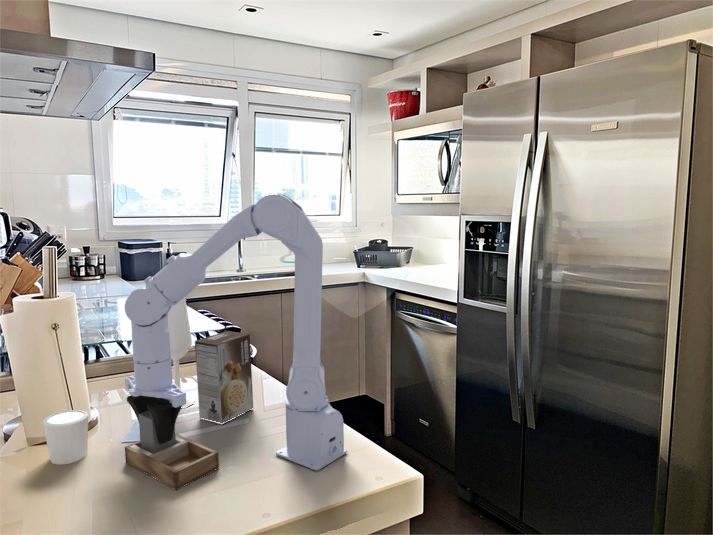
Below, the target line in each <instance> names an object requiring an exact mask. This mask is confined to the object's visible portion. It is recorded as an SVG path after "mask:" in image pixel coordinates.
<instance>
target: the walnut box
mask: <svg viewBox="0 0 713 535" xmlns="http://www.w3.org/2000/svg"><path fill="white" fill-rule="evenodd" d="M175 438H176V444H175V445H173V446H171V447H168V448H166V449H163V450H161V451H159V452H156V453H154V454H152V453H150V452H148V451H146V450H144V449H142V448H141V443H140V440H138V441H136V442H134V443H131V444H127V445H126V446H124V459H125V463H126V464H127V463H128V464H127V465H128V466H131V467H132V466H133V468H134V467H135V468H134V469H136V468H137V469H136V470H138V469H139V470H138V471H140V470H141V471H140V472H142V471H143V472H142V473H144V472H145V473H147V474H148V475H147V474H146V475H147V476H149V475H150V476H149V477H151V476H152V477H151V478H153V477H154V478H153V479H155V478H156V479H158V480H160V481H161V482H160V481H159V482H160V483H162V482H163V484H164V483H165V484H164V485H166V486H167V487H169V486H170V487H169V488H171V487H172V489H173V488H174V489H173V490H175V491H177V490H179V489H181V488H183V487H185V486H187V485H189V484H191V483H193V482H195V481H197V480H199V479H201V478H203V477H205V476H207V475H209V474H211V473H213V472H215V471H216V470H215V469H217V468H218V467H219V468H220V461H219V459H220V458H219V451H216V450H214V449H211V448H210V447H207V446H205V445H203V444H200V443H199V442H196V441H193V440H191V439H189V438H187V437H185V436H182V435H180V434H178V433H175ZM214 470H215V471H214ZM217 470H218V469H217ZM212 471H213V472H212ZM210 472H211V473H210ZM145 473H144V474H145ZM208 473H209V474H208ZM206 474H207V475H206ZM204 475H205V476H204ZM202 476H203V477H202ZM200 477H201V478H200ZM198 478H199V479H198ZM156 479H155V480H156ZM158 480H157V481H158ZM192 481H193V482H192ZM190 482H191V483H190ZM188 483H189V484H188ZM186 484H187V485H186ZM184 485H185V486H184ZM182 486H183V487H182ZM180 487H181V488H180ZM178 488H179V489H178Z"/></svg>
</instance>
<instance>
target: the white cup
mask: <svg viewBox="0 0 713 535" xmlns="http://www.w3.org/2000/svg"><path fill="white" fill-rule="evenodd" d="M42 425H43V431H44V436H45V439H46V445H47V451H48V455H49V459H50V462H51V463H52V464H54V465H67V464H72V463H76V462H79V461H81V460H82V459H84V458H86V456H87V455H88V444H89V442H88V441H89V437H88V436H89V412H88V411H86V410H83V409H82V410H81V409H70V410H64V411H59V412H56V413H53V414H51V415H48V416H46V418H44V419H43V421H42Z"/></svg>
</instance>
